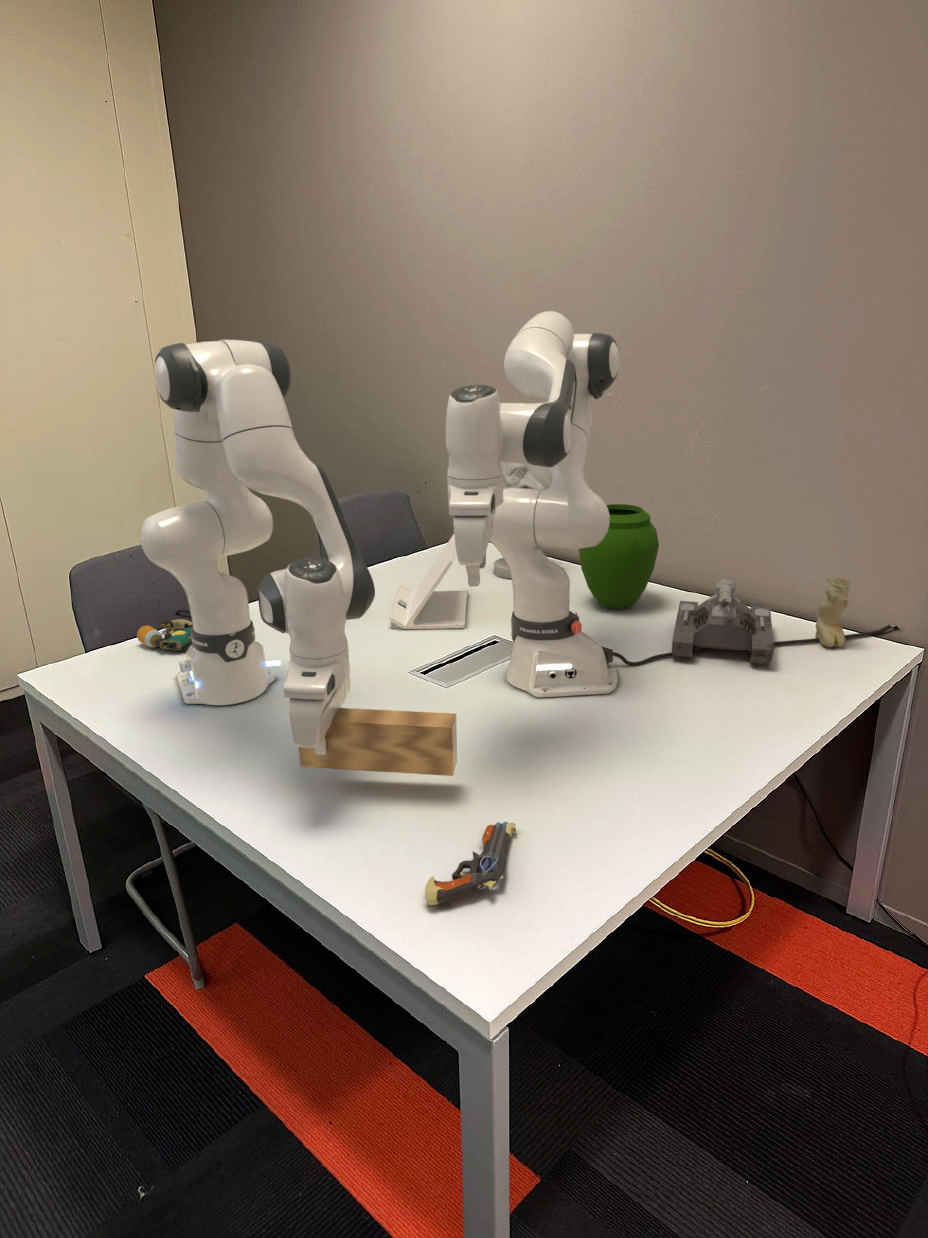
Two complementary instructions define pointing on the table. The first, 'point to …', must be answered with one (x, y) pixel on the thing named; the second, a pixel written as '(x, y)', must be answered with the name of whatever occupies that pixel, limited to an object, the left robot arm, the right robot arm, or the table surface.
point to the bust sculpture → (515, 479)
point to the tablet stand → (431, 599)
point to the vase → (621, 558)
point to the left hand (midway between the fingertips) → (326, 743)
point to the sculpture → (832, 613)
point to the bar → (388, 742)
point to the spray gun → (167, 634)
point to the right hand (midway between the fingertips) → (477, 575)
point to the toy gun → (475, 867)
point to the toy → (724, 626)
